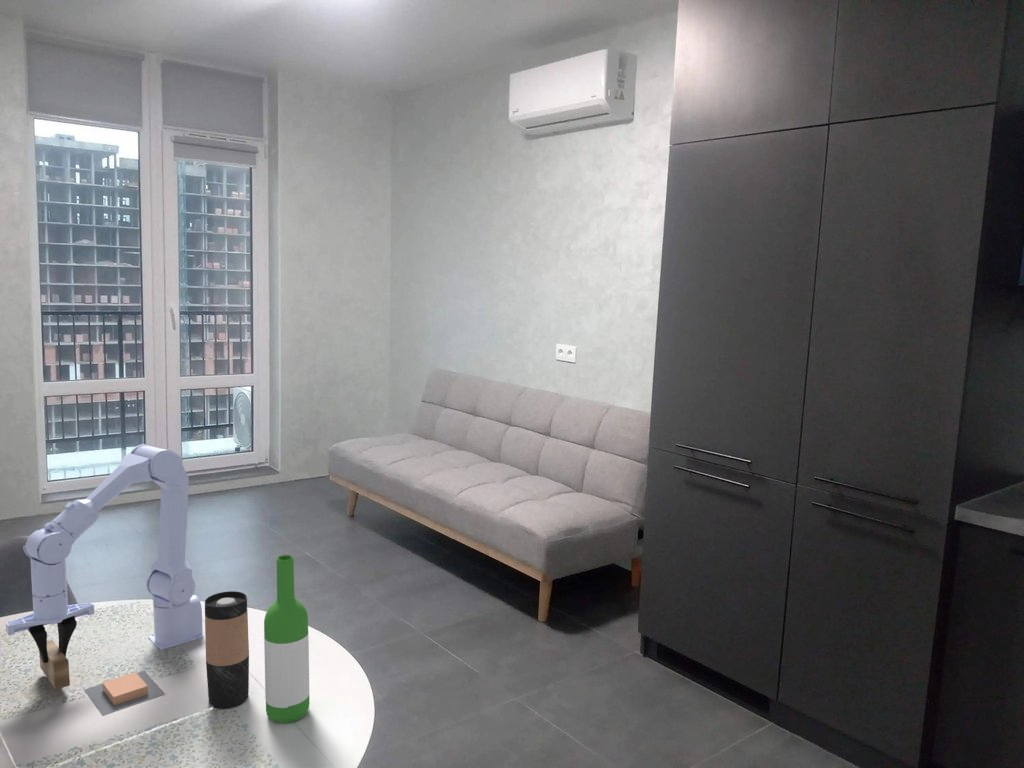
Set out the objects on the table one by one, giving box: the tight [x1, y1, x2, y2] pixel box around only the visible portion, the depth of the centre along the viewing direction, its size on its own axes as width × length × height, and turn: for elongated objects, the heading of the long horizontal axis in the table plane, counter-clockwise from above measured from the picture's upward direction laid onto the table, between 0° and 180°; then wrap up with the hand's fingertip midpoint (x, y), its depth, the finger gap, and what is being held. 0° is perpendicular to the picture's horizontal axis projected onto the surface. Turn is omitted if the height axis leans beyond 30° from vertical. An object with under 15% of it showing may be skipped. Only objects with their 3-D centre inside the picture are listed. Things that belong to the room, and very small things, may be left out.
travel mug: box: [204, 590, 250, 710], centre depth 143 cm, size 8×8×20 cm
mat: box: [83, 670, 166, 717], centre depth 145 cm, size 11×12×1 cm
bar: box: [38, 639, 71, 691], centre depth 147 cm, size 12×2×5 cm, turn 44°
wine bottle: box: [263, 554, 310, 724], centre depth 138 cm, size 8×8×30 cm
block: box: [101, 671, 148, 705], centre depth 145 cm, size 6×2×7 cm
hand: (53, 658), depth 147 cm, fingers closed on bar, 2 cm apart
